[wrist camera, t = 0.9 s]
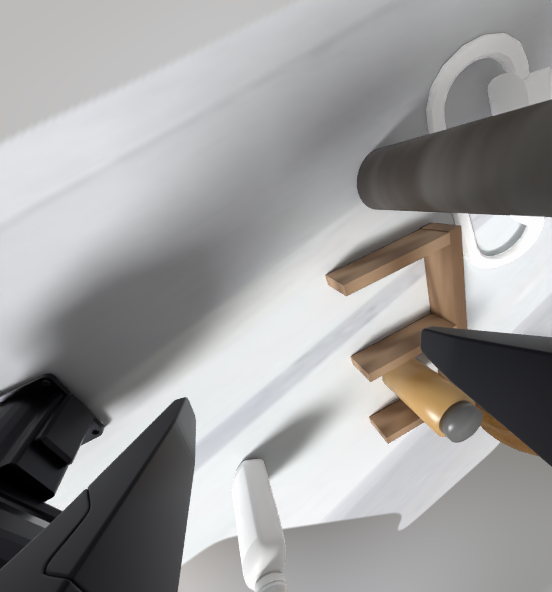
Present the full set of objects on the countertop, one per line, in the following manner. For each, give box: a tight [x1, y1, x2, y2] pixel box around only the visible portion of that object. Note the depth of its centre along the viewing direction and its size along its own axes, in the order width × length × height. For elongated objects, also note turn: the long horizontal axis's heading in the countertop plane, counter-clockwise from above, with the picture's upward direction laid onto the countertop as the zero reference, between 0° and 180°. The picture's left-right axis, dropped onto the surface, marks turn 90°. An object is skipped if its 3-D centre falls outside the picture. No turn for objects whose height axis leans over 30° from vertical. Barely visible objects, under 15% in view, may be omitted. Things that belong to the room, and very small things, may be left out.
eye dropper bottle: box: [232, 459, 288, 592], centre depth 23 cm, size 4×6×12 cm
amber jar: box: [383, 358, 483, 443], centre depth 26 cm, size 4×4×8 cm
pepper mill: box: [357, 99, 552, 217], centre depth 14 cm, size 5×5×16 cm
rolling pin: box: [426, 33, 552, 268], centre depth 23 cm, size 20×8×4 cm, turn 34°
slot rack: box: [326, 223, 467, 444], centre depth 26 cm, size 11×20×3 cm, turn 21°
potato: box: [475, 402, 538, 456], centre depth 32 cm, size 8×12×9 cm
